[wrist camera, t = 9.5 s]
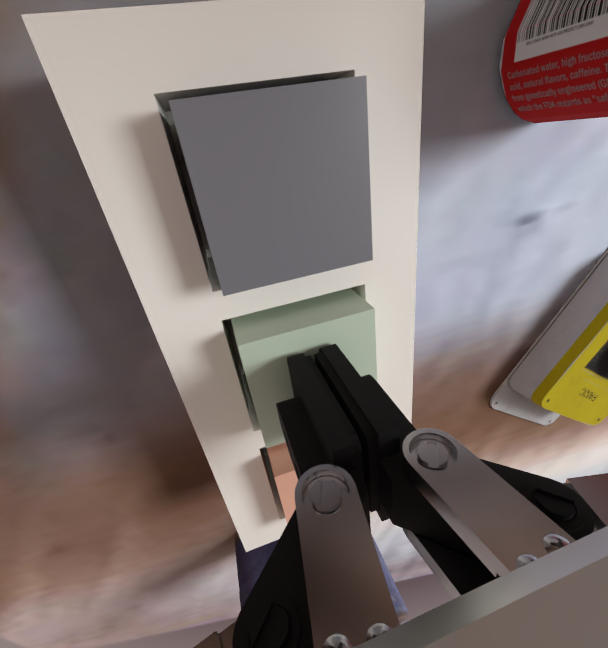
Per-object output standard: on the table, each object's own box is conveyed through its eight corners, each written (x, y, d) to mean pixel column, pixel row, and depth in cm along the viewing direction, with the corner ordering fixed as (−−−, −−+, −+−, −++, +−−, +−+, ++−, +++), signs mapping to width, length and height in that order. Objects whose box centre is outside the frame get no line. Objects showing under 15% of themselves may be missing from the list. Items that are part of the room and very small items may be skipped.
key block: (88, 69, 11) (20, 14, 7) (345, 42, 12) (425, -16, 8) (234, 469, 21) (246, 552, 16) (367, 423, 22) (409, 488, 18)
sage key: (225, 295, 13) (237, 345, 10) (329, 270, 14) (374, 308, 10) (249, 382, 15) (266, 448, 12) (338, 356, 16) (378, 410, 13)
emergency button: (753, 294, 22) (593, 460, 26) (671, 273, 26) (542, 422, 30) (711, 234, 18) (528, 443, 22) (620, 219, 21) (479, 401, 26)
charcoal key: (176, 117, 10) (167, 100, 7) (312, 99, 11) (366, 75, 8) (214, 256, 12) (223, 295, 9) (325, 232, 13) (372, 260, 10)
